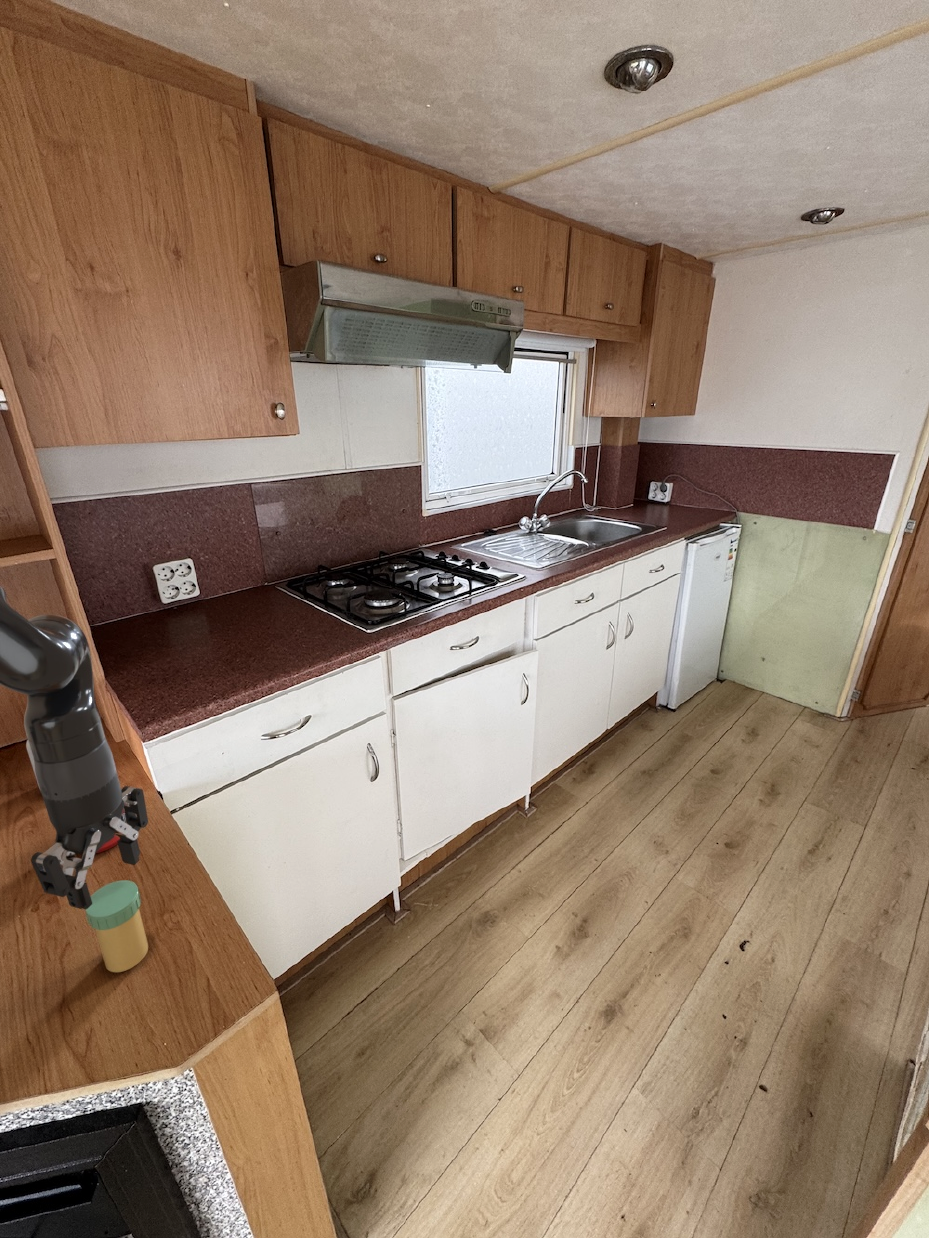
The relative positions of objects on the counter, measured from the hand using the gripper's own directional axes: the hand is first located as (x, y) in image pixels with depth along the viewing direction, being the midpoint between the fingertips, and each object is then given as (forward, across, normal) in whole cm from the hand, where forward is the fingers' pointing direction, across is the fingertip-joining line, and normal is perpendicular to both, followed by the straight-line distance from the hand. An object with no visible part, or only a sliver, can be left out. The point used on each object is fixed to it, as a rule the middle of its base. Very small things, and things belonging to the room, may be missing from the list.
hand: (108, 882), depth 71 cm
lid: (+3, 0, 0) cm, 3 cm away
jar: (+13, 0, 0) cm, 13 cm away
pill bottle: (+13, +27, +42) cm, 52 cm away
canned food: (+13, +17, +22) cm, 31 cm away
